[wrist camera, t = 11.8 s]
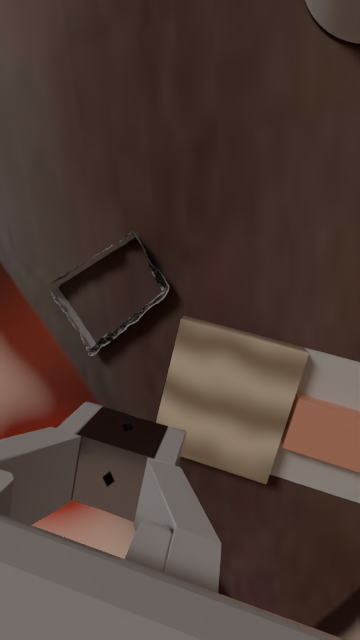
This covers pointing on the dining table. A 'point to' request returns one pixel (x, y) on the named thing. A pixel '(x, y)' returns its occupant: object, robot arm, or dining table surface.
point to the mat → (335, 387)
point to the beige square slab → (230, 396)
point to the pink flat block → (323, 431)
